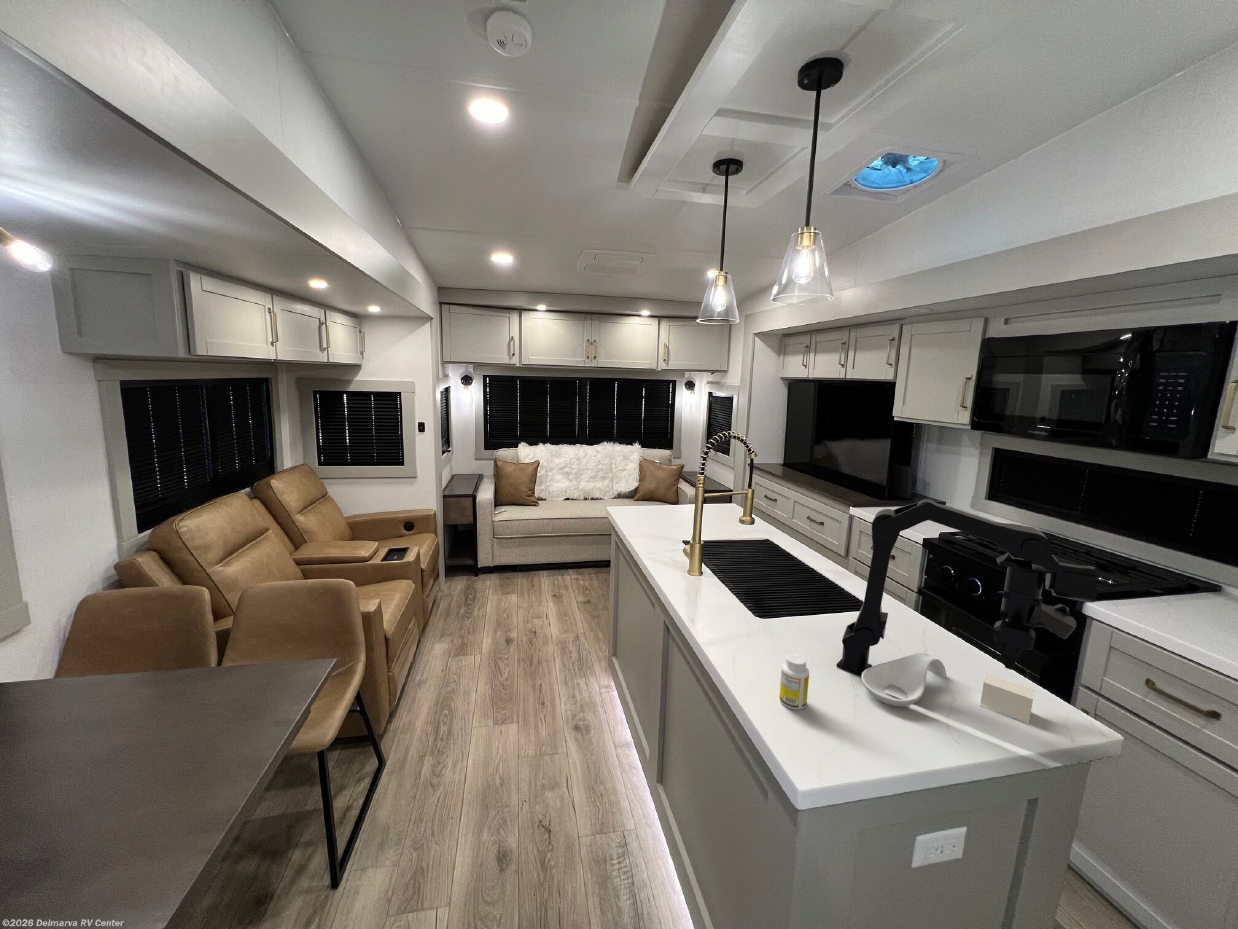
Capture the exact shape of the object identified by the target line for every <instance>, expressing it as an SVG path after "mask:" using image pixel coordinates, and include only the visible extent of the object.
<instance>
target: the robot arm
mask: <svg viewBox="0 0 1238 929" xmlns="http://www.w3.org/2000/svg"><path fill="white" fill-rule="evenodd" d="M927 521H931V522H934V523H935V524H936V523H937V524H939V525H942V526H945V527H948V528H951V529H953V530H956V531H959V532H962V533H964V534H965V533H966V534H968V535H972V536H975V537H977V538H980V539H983V540H986V541H989V542H991V543H993V544H995V545H996V546H998V547H1000V548H1002V549H1003V550H1005V551H1007V552H1006V553H1005V554H1003V555H1001V556H999V557H996V562H997V564H998V565H999V566H1001V567H1007V569H1006V576H1005V582H1004V587H1003V589H1004V590H1003V591H1002V598H1001V599H1002V603H1001V606H1000V607H1001V608H1000V609H999V610H1000V611H999V616H998V617H1000V618H1001V620H998V621H996V622H995V623H994V626H993V628H992V629H993V630H992V635H991V636H992V638H993V640H994V641H995V643H996V647H997V649H998V652H999V653H1000V657H1001V660H1002V662H1003V665H1004V668H1005V669H1007V670H1010V671H1012V670H1013V668H1014V667H1015V665H1016V662H1017V661H1018V659H1019V657H1020V655H1021V653H1022V651H1026V650H1027V651H1030V650H1032V649H1034V646H1035V640H1036V634H1037V633H1036V632H1035V631H1034V630H1033V628H1038V626H1041V627H1043V628H1045V629H1046V630H1048V631H1050V632H1051V633H1054V634H1056V636H1057V637H1059V638H1060V639H1063V640H1067V639H1068V637H1069V636H1070V635H1071V634H1072V632H1073V631H1074V630H1075V629H1076V628H1077V621H1076V619H1074V618H1075V617H1073V616H1070V608H1069V607H1067V606H1065V605H1064V604H1063V603H1059V604H1057V605H1054V606H1052V605H1047V604H1045V603H1042V602H1043V598H1044V597H1042V592H1043V587H1044V586H1043V585H1044V584H1045V588H1046V590H1049V591H1051V594H1052V596H1053V597H1054V596H1055V597H1059V598H1060V597H1061V598H1065V599H1070V600H1076V601H1080V602H1085V603H1094V602H1095V601H1096V599H1097V596H1098V592H1099V589H1098V587H1097V586H1098V581H1097V577H1096V576H1097V570H1096V568H1094V566H1090V565H1084V564H1083V565H1079V564H1073V563H1066V562H1059V560H1058V559H1057V557H1056V556H1055V555H1054V554H1052V553H1051V552H1052V548H1053V547H1052V543H1051V542H1050V540H1049V539H1048V538H1047V537H1046V535H1045V534H1044V533H1043V532H1042V531H1041V530H1040V529H1038V528H1036V527H1032V526H1028V525H1023V524H1022V525H1021V524H1018V523H1008V522H1007V523H1006V522H999V521H994V520H991V519H988V518H985V517H981V516H978V515H975V514H972V513H970V512H969V513H968V512H965V511H962V510H959V509H957V508H954V507H950V506H948V505H945V504H941V503H937V502H935V501H934V500H932V499H928V498H926V499H925V498H924V499H922V500H920V501H917V502H914V503H911V504H907V505H904V506H900V507H897V508H895V509H891V508H890V509H889V508H884V509H881V510H879V511H877V513H876V514H875V515H874V517H873V519H872V523H871V541H872V555H871V560H870V564H869V571H868V577H867V582H866V587H865V588H866V589H865V594H864V599H863V603H862V606H861V608H860V610H859V612H858V615H857V617H856V619H855V621H853V622H851V623H850V624H848V625H846V627H845V631H844V633H843V636H842V639H841V642H842V645H843V646H842V654H841V659H840V660H839V661H837V663H836V667H837V668H839V669H842V670H844V671H846V672H849V673H851V674H854V675H857V676H858V677H861V676H862V673H863V672H864V671H865V670H866V669H868V668H870V667H872V666H873V665H872V664H871V663H869V658H870V650H871V647H874V646H876V645H878V644H879V643H880V640H881V639H882V640H884V638H885V635H886V634H885V633H886V628H887V627H886V625H887V622H888V617H889V613H888V612H884V611H883V610H882V609H883V608H882V603H883V602H882V601H883V597H884V591H885V586H886V583H887V582H886V581H887V576H888V570H889V564H890V558H891V554H892V552H893V549H894V547H895V545H896V543H897V540H898V538H899V535H900V533H901V532H903V531H906V530H909V529H911V528H913V527H915V526H917V525H919V524H921V523H924V522H927ZM1011 554H1012V555H1015V556H1017V557H1014V556H1012V555H1011ZM1032 562H1035V563H1037V564H1034V563H1032ZM1045 574H1046V575H1045ZM1044 578H1045V579H1044ZM1044 580H1045V583H1044Z"/></svg>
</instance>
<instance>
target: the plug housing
mask: <svg viewBox="0 0 1238 929" xmlns="http://www.w3.org/2000/svg"><path fill="white" fill-rule="evenodd" d="M1034 695H1035V689H1034V688H1031V687H1027V686H1024V685H1023V684H1020V683H1016V682H1013V681H1010V680H1008V679H1004V678H1001V677H998V676H996V675H995V676H994V675H992V674H989V673H986V675H985V677H984V680H983V684H982V690H981V697H980V703H979V705H980V704H983V705H986V706H988V707H991V708H994V709H996V710H999V711H1001V712H1004V713H1007V714H1009V715H1012V716H1015V717H1017V718H1020V719H1023V720H1025V721H1028V722H1029V723H1030V719H1031V713H1032V708H1033V702H1034Z"/></svg>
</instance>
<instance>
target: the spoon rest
mask: <svg viewBox="0 0 1238 929" xmlns="http://www.w3.org/2000/svg"><path fill="white" fill-rule="evenodd" d="M928 671H929V672H930V673H932V674H935V675H936V676H938V677H941V678H943V679H945V678H947V670H946V667H945V665H944V663H943V662H942V661H941V660H940V659H939V658H935V657H932V656H931V655H930V654H929V653H926V652H922V651H920V652H915V653H912V654H909V655H906V656H904V657H900V658H897V659H894V660H890V661H886V662H883V663H879V664H875V665H872V667H870V668H868V669H866V670H865V671H864V672H863V673H862V676H860V677H861V681H862V684H863V686H864V687H865V689H866V690H867V691H868V692H869V693H870V695H871V696H873V697H874V698H875V699H877V700H878V701H881V702H882V703H885V705H886V704H887V705H890V706H894V707H898V708H899V707H900V708H901V707H908V706H911V705H913V704H916V703H917V702H918V701H919V700H920V699H921V698H922V696H923V695H924V693H925V689H926V683H927V674H928ZM889 685H893V686H896V687H897V688H900V689H901V690H902V691H904V692H905V694H906V696H907V697H906V699H902V698H900V697H897V696H895V695H893V694H890V693H888V692H885V691H886V689H887V688H888V687H889Z"/></svg>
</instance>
